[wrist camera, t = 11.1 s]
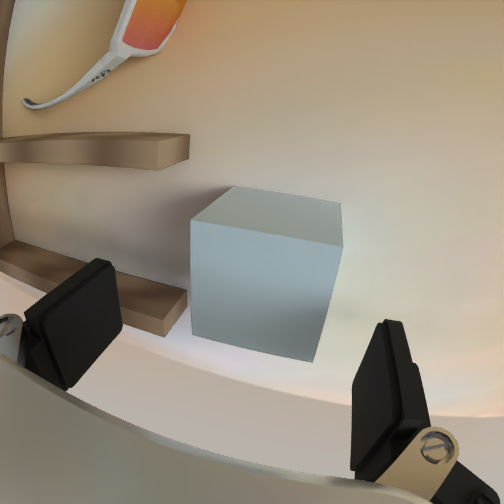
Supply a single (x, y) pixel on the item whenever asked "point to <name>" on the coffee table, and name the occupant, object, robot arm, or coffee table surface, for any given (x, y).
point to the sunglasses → (129, 41)
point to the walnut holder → (101, 154)
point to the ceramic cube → (264, 270)
